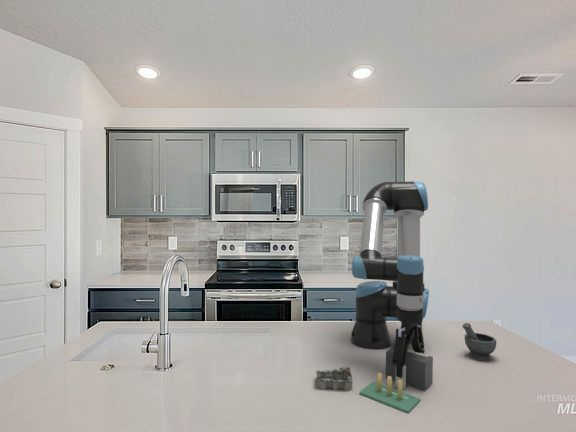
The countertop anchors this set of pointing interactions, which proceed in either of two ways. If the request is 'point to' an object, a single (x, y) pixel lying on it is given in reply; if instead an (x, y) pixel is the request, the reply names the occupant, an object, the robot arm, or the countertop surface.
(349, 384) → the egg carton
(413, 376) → the block
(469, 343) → the mortar and pestle
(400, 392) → the board
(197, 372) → the countertop surface
